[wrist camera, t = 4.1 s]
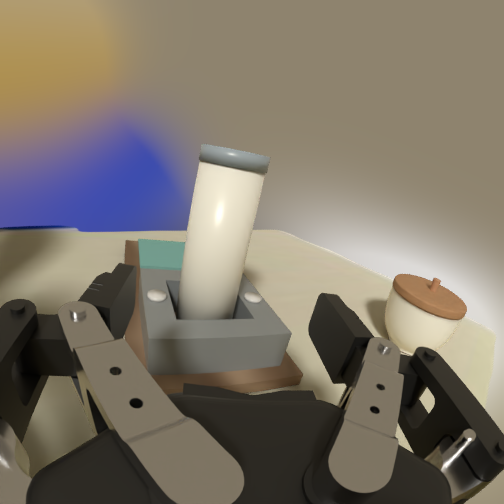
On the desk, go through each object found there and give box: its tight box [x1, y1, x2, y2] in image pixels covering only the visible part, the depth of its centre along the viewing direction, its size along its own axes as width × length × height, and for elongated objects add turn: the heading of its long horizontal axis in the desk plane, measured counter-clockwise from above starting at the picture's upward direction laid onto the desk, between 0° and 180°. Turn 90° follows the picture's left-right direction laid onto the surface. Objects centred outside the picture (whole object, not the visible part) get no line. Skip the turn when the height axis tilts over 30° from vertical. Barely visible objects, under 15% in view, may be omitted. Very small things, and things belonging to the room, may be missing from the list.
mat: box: [138, 239, 185, 270], centre depth 41 cm, size 10×10×1 cm
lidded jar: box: [385, 274, 467, 356], centre depth 32 cm, size 11×11×9 cm
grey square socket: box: [138, 268, 292, 375], centre depth 25 cm, size 11×11×4 cm
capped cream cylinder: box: [176, 144, 270, 320], centre depth 24 cm, size 5×5×16 cm
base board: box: [125, 240, 303, 395], centre depth 33 cm, size 14×30×1 cm, turn 22°
